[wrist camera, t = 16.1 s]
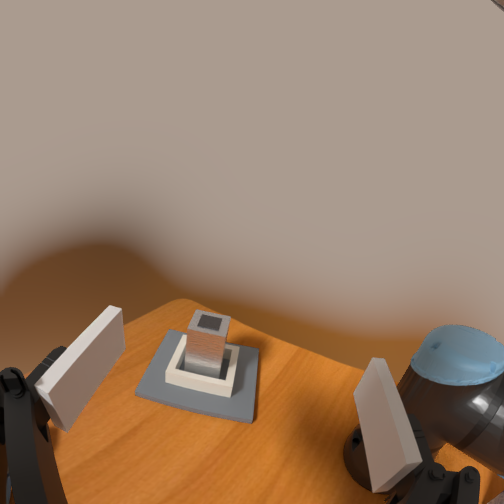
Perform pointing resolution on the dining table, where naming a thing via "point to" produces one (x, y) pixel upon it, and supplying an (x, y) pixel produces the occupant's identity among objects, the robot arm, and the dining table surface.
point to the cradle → (202, 381)
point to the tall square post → (206, 343)
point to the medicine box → (498, 499)
